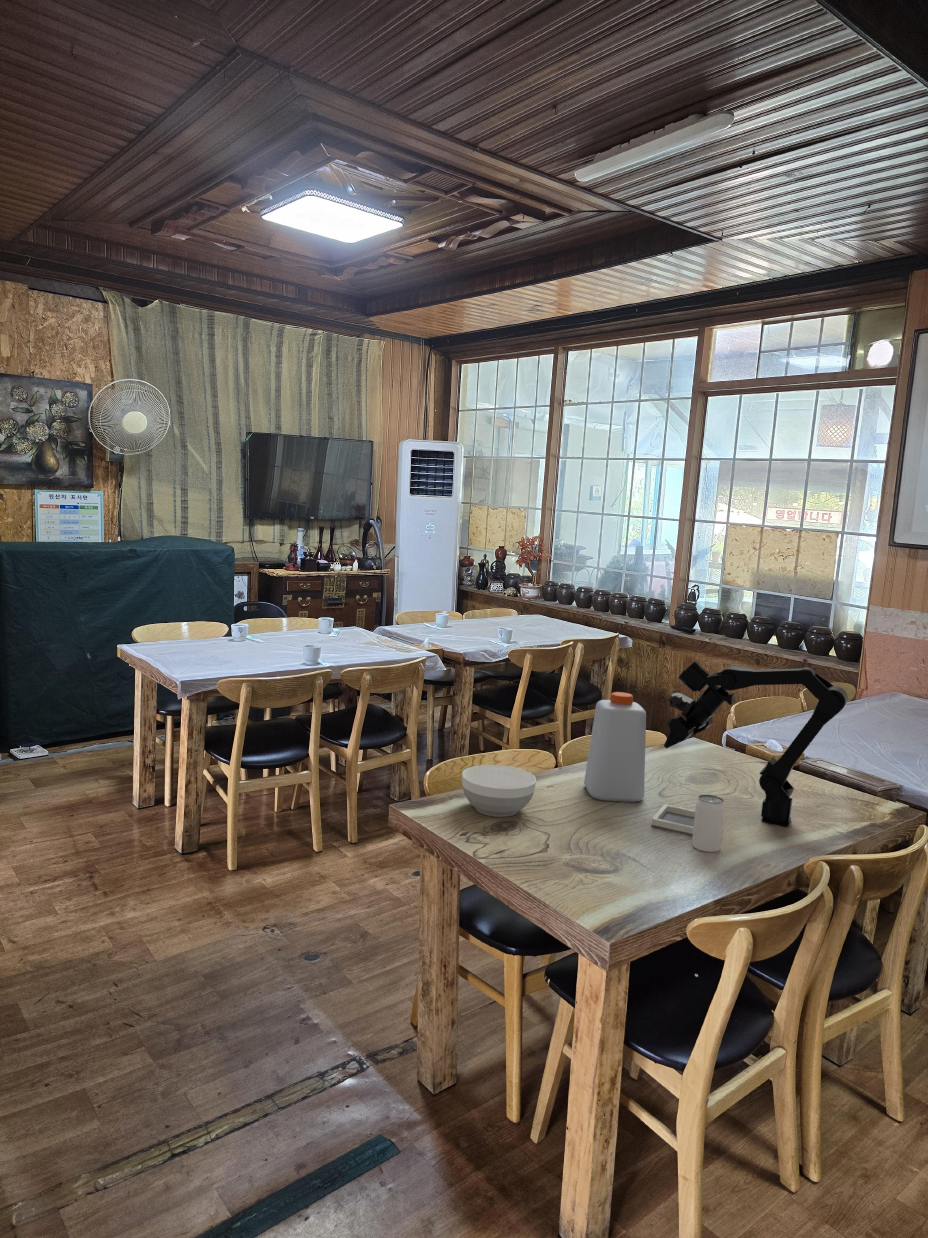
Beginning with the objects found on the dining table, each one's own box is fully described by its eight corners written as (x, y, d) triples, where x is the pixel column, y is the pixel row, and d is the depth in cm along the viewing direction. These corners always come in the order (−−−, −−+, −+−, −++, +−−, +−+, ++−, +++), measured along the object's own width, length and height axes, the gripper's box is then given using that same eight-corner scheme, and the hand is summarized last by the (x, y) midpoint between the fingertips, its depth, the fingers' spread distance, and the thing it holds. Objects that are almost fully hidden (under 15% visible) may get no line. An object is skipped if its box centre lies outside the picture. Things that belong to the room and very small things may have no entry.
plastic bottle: (633, 785, 240) (642, 689, 236) (647, 804, 225) (656, 702, 221) (581, 783, 239) (589, 686, 235) (591, 801, 224) (599, 699, 220)
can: (688, 849, 196) (694, 799, 194) (695, 840, 202) (700, 792, 200) (717, 855, 193) (722, 805, 191) (722, 846, 199) (727, 797, 197)
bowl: (528, 827, 203) (531, 792, 202) (452, 817, 206) (454, 782, 205) (537, 802, 221) (540, 769, 220) (467, 792, 225) (469, 761, 224)
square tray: (714, 822, 214) (715, 815, 214) (704, 838, 203) (705, 830, 203) (664, 811, 220) (664, 804, 220) (651, 826, 209) (651, 818, 208)
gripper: (698, 678, 236) (664, 716, 243) (671, 688, 221) (636, 729, 228) (728, 706, 231) (693, 744, 238) (703, 718, 216) (666, 759, 223)
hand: (672, 743), depth 232 cm, fingers open, 9 cm apart
